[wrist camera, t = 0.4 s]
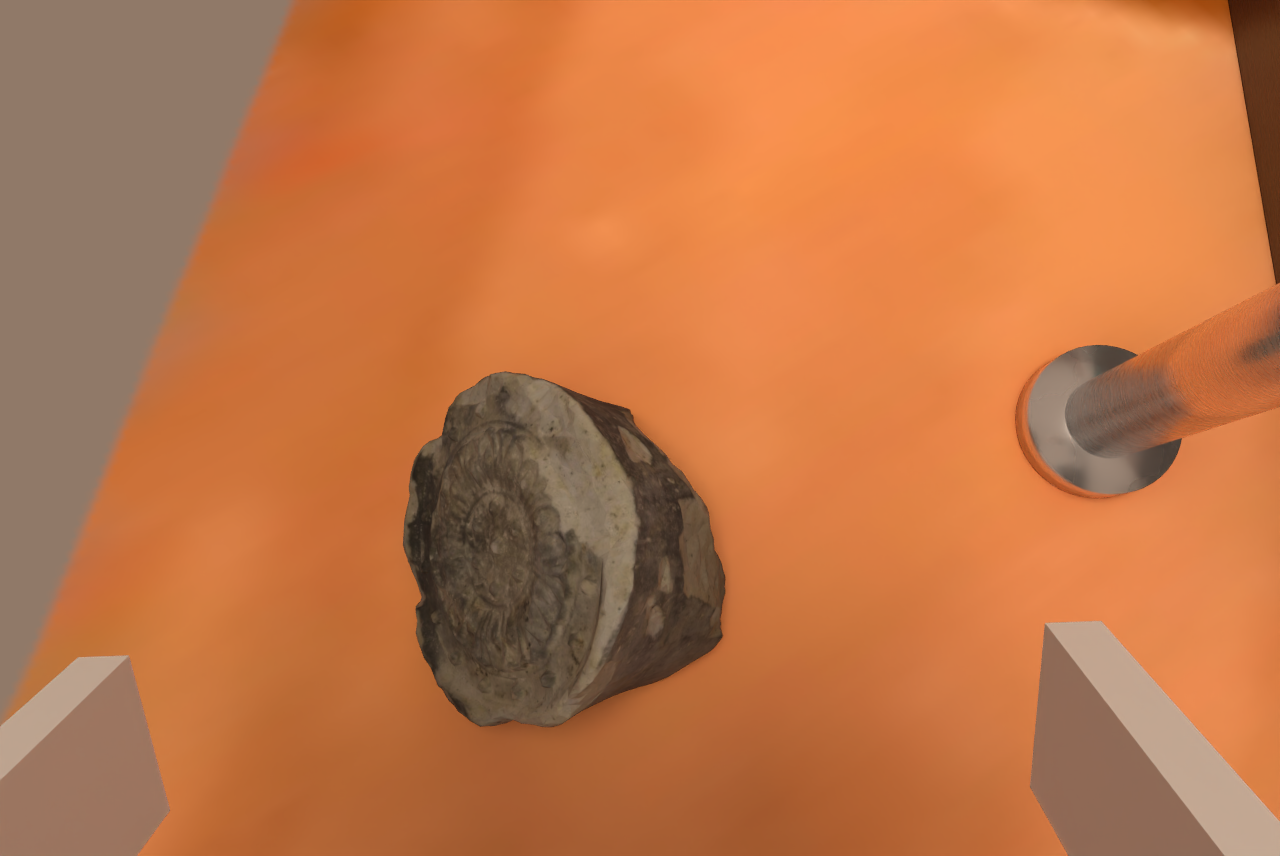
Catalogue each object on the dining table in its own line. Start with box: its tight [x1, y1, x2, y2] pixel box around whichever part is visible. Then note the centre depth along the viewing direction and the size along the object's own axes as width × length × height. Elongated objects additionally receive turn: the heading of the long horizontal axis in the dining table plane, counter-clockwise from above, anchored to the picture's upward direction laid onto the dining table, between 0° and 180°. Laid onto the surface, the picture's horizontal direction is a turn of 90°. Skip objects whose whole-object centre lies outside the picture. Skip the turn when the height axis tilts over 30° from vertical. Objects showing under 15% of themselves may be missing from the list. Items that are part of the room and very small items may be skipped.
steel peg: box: [1016, 283, 1280, 498], centre depth 24 cm, size 5×5×17 cm
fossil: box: [403, 371, 725, 727], centre depth 28 cm, size 11×9×10 cm
